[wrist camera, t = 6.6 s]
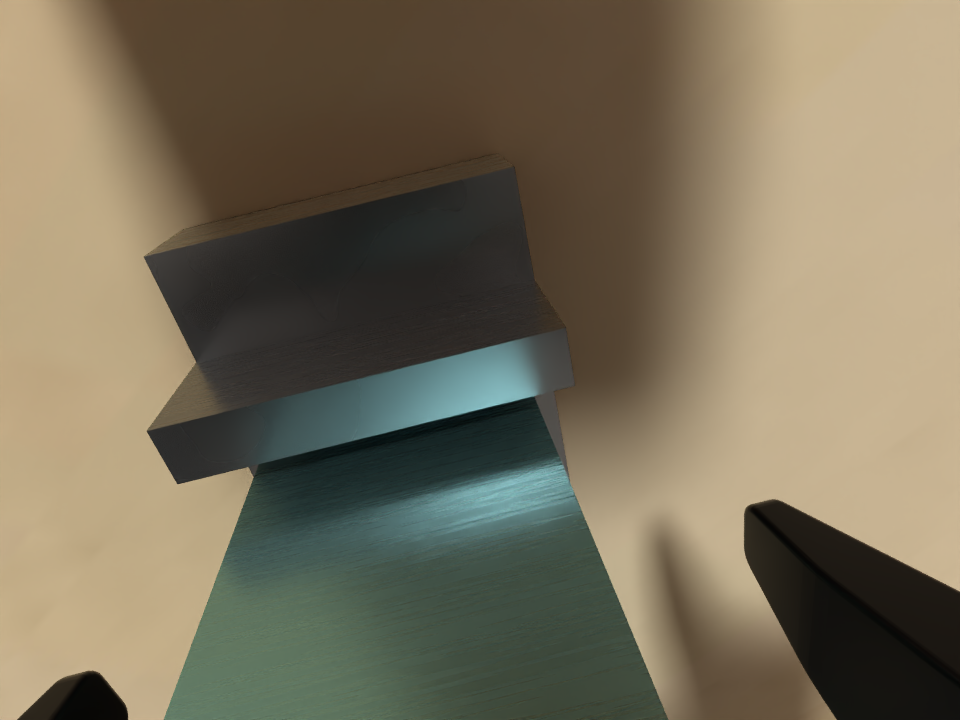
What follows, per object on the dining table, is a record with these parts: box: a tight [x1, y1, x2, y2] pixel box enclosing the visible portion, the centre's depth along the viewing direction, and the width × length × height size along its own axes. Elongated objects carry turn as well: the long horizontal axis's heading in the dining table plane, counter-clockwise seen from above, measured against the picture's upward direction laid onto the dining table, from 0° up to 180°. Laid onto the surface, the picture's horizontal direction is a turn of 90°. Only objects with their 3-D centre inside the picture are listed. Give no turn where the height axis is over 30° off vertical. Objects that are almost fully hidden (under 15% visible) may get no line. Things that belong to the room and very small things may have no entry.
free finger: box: [164, 396, 668, 720], centre depth 7 cm, size 4×5×7 cm
